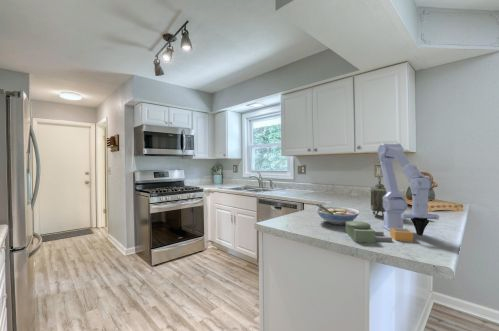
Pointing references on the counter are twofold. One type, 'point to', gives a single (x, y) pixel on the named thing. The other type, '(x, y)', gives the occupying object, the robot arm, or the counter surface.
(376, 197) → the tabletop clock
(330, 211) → the ramen bowl
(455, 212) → the counter surface
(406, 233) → the orange square frame
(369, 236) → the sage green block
